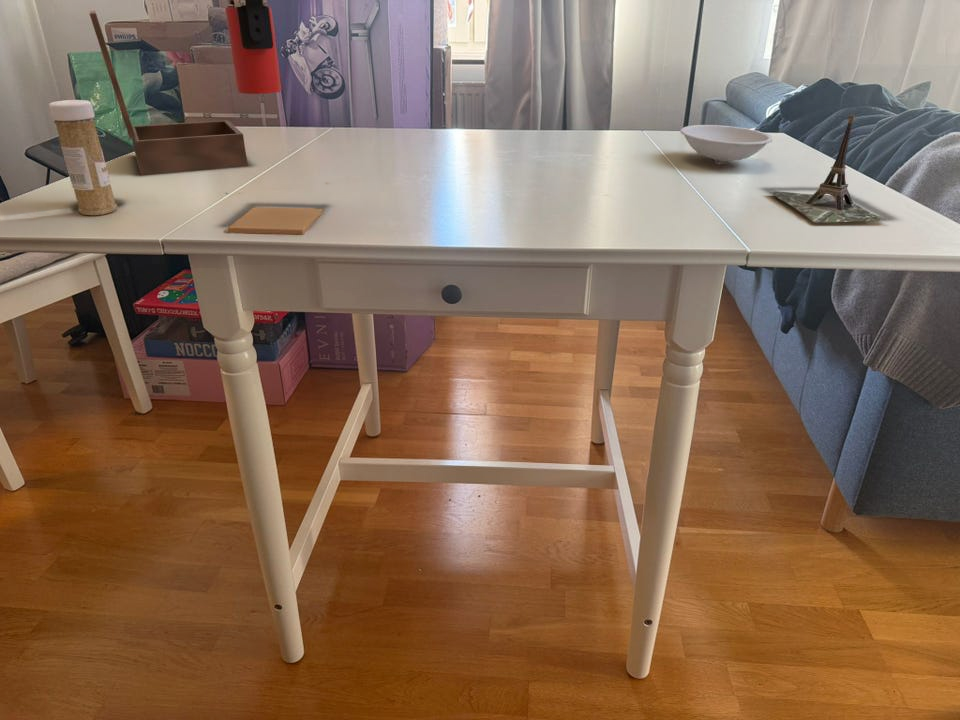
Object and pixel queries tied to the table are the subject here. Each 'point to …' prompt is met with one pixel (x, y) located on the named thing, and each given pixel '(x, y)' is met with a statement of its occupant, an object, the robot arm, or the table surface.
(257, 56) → the ketchup
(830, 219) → the eiffel tower figurine
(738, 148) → the dish
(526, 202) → the table surface
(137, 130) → the wooden storage tray
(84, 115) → the sprinkles bottle
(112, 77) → the lid
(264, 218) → the trivet
